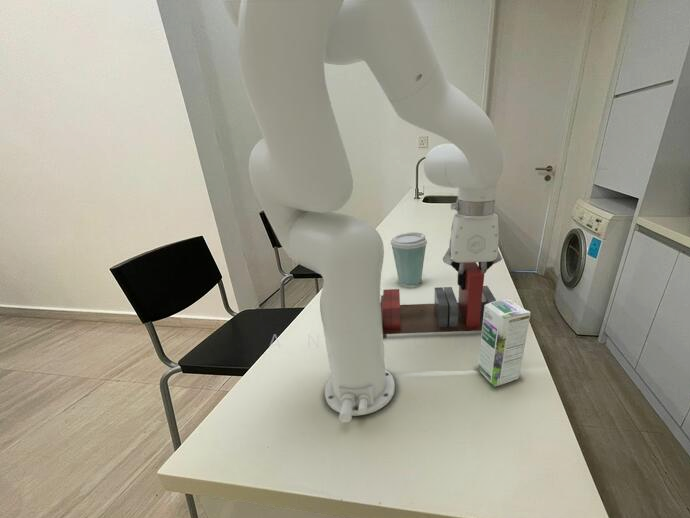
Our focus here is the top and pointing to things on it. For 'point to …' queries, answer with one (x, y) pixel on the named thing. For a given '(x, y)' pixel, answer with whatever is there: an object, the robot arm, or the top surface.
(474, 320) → the red book
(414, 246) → the disposable coffee cup
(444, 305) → the book rack
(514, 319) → the syrup box
